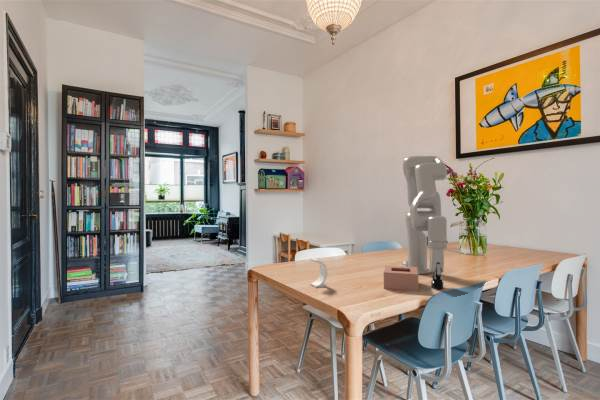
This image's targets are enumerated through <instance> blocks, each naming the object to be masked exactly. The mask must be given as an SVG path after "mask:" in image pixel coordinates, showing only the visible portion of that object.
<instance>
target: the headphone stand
mask: <svg viewBox="0 0 600 400" xmlns="http://www.w3.org/2000/svg"><path fill="white" fill-rule="evenodd" d="M310 262H314V263H317V265H318V266H319V269H320V271H319V275H318V278H317V279H316V280H315V281H314V282H311V283H310V286H311V287H314V288H316V289H317V288H324V287H326V286H327V285H326V280H327V278H328V268H327V266H326V264H325V263H324V262H323V261H321V260H318V259H316V258H310Z"/></svg>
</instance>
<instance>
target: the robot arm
mask: <svg viewBox="0 0 600 400" xmlns="http://www.w3.org/2000/svg"><path fill="white" fill-rule="evenodd" d="M402 171H403V175H404V177H405V179H406V180H405V181H406V185H407V186H406V189H407V203H408V206H409V211H408V212H407V214H406V216H405V223H406V230H407V231H406V232H407V261H406V260H403V262H402V263H401V265H402V266H405V267H417V270H418V275H426V274H427V275H428V274H431V273H432V274H433V275H432V280H434V289H433V290H437V289H442V281H443V277H442V275H443V273H444V267H445V250H447V248H448V247H447V246H448V243H447V239H448V238H447V231H448V229H447V225H448V224H447V218H446V217H445V216H443V215H442V203H441V195H440V193H439V192H438V190H437V185H436V181H444V180H445V179H447V176H448V170H447V166H446V164H445V163H444V162H443V160H442V159H441V158H439V157H438V156H437V155H413V156H408V157H405V158H404V160H403V161H402ZM418 209H429V210H418ZM424 232H427V235H426V234H425V233H424ZM428 249H429V268H428ZM442 290H443V289H442Z"/></svg>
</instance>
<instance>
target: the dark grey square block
mask: <svg viewBox="0 0 600 400" xmlns="http://www.w3.org/2000/svg"><path fill="white" fill-rule="evenodd" d="M430 283H431V284H430V285H431V286H430V288H431V289H433V290H435V289H434V280H433V279H432V280H431V281H430ZM436 290H438V291H439V290H444V281H443V280H442V289H436Z"/></svg>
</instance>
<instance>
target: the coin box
mask: <svg viewBox="0 0 600 400" xmlns="http://www.w3.org/2000/svg"><path fill="white" fill-rule="evenodd" d="M383 289H385V290H386V289H387V290H399V291H400V290H401V291H416V292H419V274H418V270H417V267H406V265H402V266H400V265H399V266H398V265H385V266H384V269H383Z"/></svg>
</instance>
